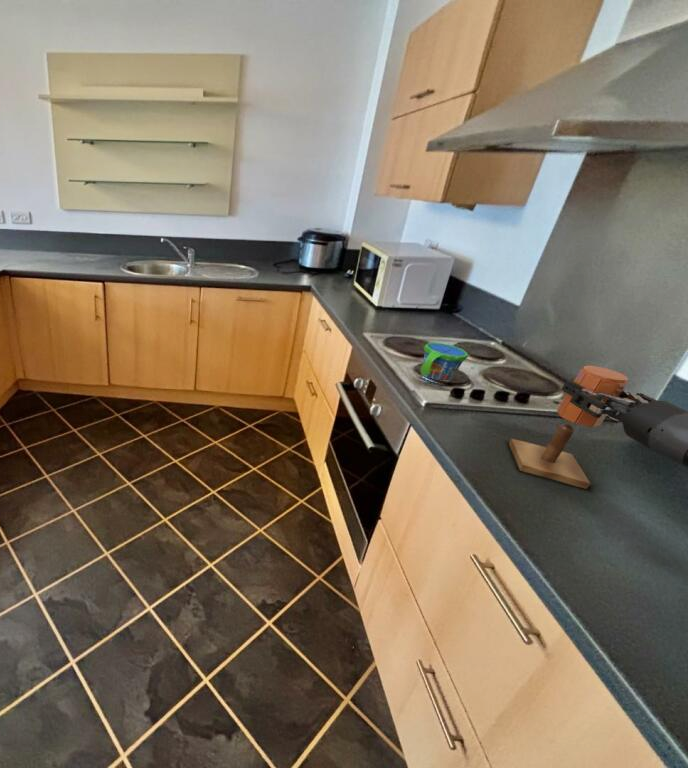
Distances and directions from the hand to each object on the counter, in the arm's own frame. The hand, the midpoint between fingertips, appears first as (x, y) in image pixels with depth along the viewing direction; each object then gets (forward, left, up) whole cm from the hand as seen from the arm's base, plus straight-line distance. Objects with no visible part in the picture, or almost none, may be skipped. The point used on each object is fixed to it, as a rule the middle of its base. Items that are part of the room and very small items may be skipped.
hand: (583, 386), depth 80 cm
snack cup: (+18, -33, -18) cm, 42 cm away
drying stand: (-1, +1, -18) cm, 18 cm away
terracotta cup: (-1, +2, -6) cm, 6 cm away
